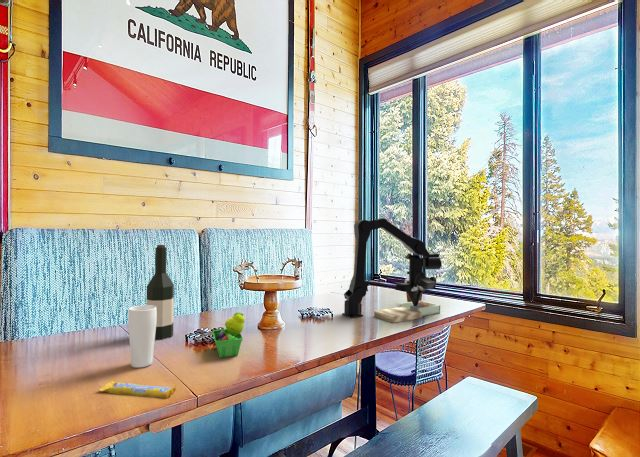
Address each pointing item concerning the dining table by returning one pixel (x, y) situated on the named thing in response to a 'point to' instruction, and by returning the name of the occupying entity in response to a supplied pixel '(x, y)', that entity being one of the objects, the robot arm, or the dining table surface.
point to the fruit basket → (230, 336)
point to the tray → (424, 308)
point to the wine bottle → (161, 295)
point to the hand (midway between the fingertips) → (415, 306)
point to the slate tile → (415, 307)
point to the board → (398, 314)
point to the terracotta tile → (423, 304)
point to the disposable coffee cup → (408, 294)
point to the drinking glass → (142, 334)
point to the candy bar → (138, 389)
